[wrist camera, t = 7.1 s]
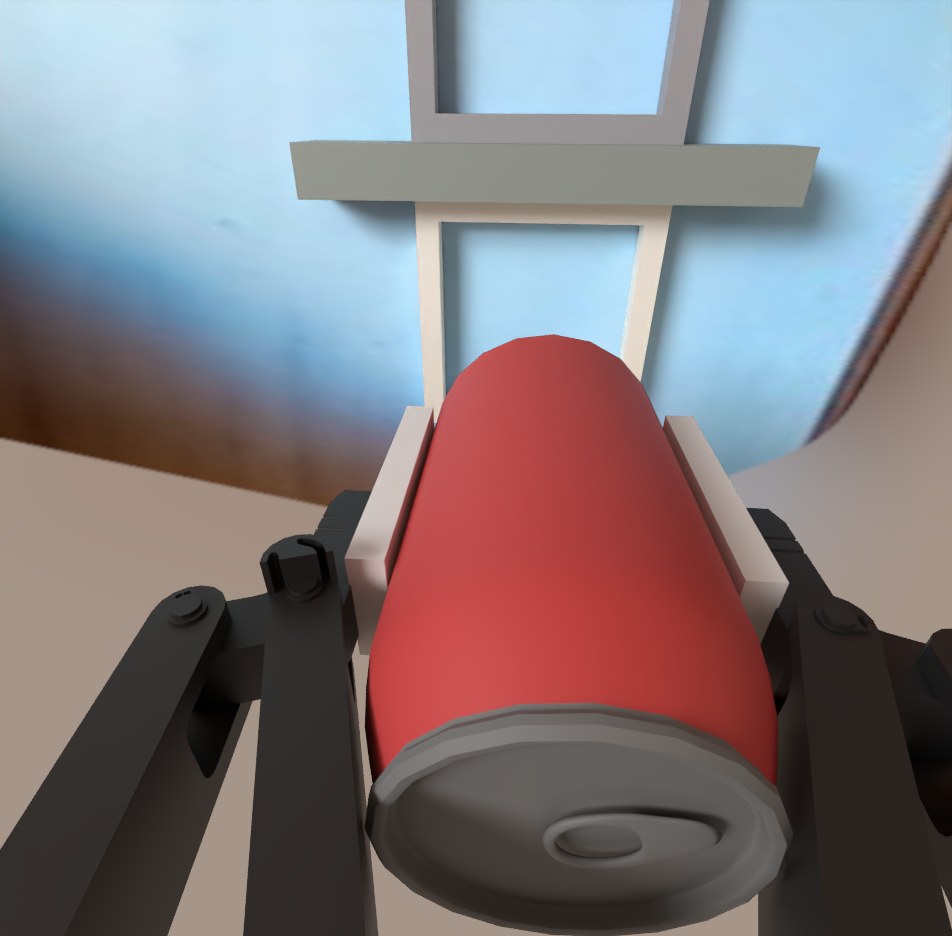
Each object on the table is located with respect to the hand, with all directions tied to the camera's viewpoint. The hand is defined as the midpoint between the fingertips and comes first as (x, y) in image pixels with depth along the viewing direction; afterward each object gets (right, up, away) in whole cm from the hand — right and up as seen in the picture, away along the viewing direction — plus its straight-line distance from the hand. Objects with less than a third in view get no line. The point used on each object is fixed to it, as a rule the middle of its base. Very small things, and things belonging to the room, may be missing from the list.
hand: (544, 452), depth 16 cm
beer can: (0, +1, +1) cm, 2 cm away
